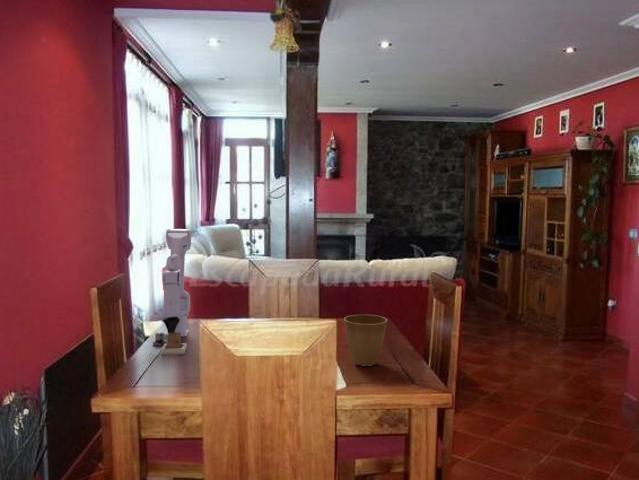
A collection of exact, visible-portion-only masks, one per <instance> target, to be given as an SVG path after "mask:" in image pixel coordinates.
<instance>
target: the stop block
mask: <svg viewBox="0 0 639 480" xmlns="http://www.w3.org/2000/svg"><path fill="white" fill-rule="evenodd" d="M167 334H168V333H167ZM181 337H182V336H181V333H169V334H168V340H167V343H168V349H169V348H181V343H182V342H181Z"/></svg>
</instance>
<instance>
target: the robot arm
mask: <svg viewBox="0 0 639 480" xmlns="http://www.w3.org/2000/svg"><path fill="white" fill-rule="evenodd" d="M165 241H166V245H167V248H168V249H169V250H170V255H169V256H168V257H167V258H166V263H165V268H164V269H165V270H164V271H163V272H162V276H161V277H162V278H161V279H162V290H163V312H161V313H158V314H154V315H153V316H152V317H153V321H155V322H159V321H162V323H164V326H165V327H166V330H167V334H169V333H176V332H179V333H181V337H187V335H188V334H189V331H190V330H189V329H187V318H188V317H189V312H190V310H191V295H190V293H189V292H187V290H185V289H184V285H185V264H186V263H185V261H186V258H185V257H186V253H187V251H189V250H191V247H192V230H191V229H190V228H187V229H186V228H184V229H183V228H167V229H166V233H165Z"/></svg>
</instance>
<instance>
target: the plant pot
mask: <svg viewBox="0 0 639 480" xmlns="http://www.w3.org/2000/svg"><path fill="white" fill-rule="evenodd" d="M343 320H344V321H343V322H344V329H345V335H346V340H347V344H348V347H349V351H350V352H349V353H350V354H351V358H352V360H353V361H352V362H353V364H354V363H355V364H357V365H366V366H368V365H374V364H375V365H376V364H377V361H378V360H379V355H380V353H381V350H382V347H383V342H384V340H385V335H386V330H387V323H388V319H387V318H386V317H384V316H380V315H376V314H353V315H348V316H345V317H344V318H343ZM355 364H354V365H355ZM357 365H356V366H357ZM375 365H374V366H375Z"/></svg>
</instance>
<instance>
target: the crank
mask: <svg viewBox="0 0 639 480" xmlns="http://www.w3.org/2000/svg"><path fill="white" fill-rule="evenodd" d="M154 335H155V340H154V341H155V342H164V341H168V333H164V332H159V331H158V332H156V333H155V334H154Z"/></svg>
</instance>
